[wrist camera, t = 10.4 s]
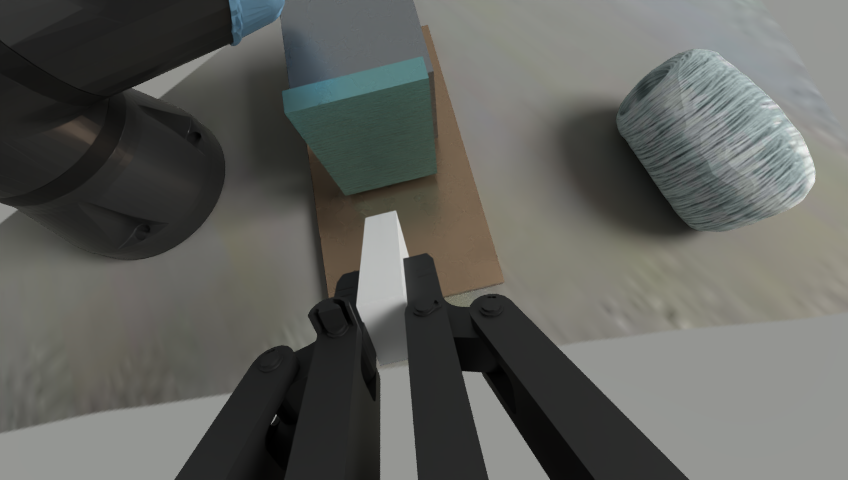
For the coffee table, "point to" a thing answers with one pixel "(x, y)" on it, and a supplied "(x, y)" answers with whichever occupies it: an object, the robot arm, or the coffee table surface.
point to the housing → (412, 200)
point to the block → (368, 125)
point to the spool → (715, 143)
